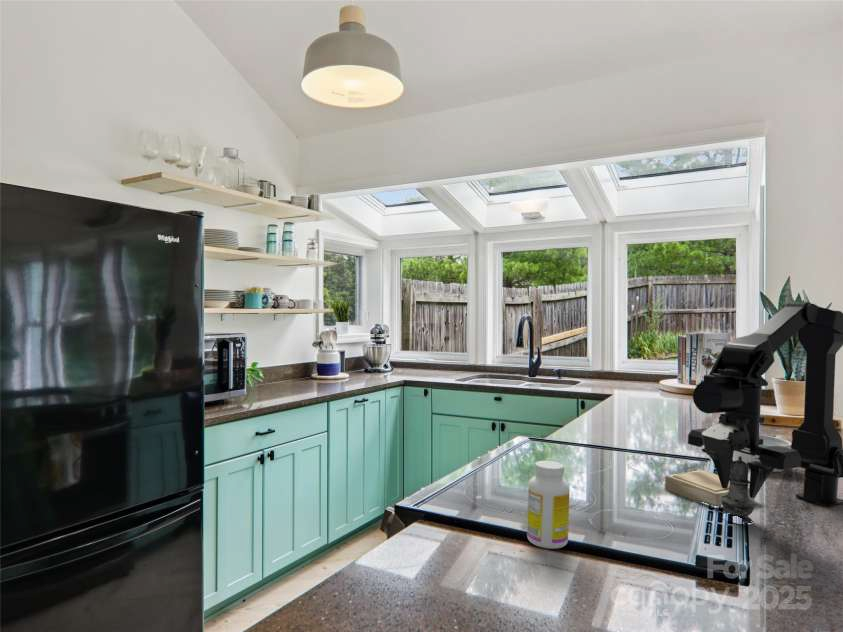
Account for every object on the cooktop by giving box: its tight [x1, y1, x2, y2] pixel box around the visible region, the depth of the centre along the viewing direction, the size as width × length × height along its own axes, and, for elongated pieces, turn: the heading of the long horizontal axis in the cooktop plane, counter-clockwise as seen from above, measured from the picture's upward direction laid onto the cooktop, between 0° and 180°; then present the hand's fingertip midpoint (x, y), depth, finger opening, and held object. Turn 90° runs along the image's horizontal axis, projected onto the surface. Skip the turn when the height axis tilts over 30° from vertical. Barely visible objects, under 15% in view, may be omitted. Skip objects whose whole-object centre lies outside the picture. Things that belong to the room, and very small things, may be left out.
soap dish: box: [664, 469, 756, 506], centre depth 117 cm, size 12×12×3 cm
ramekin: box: [733, 433, 792, 473], centre depth 140 cm, size 13×13×7 cm
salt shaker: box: [720, 456, 757, 523], centre depth 104 cm, size 6×6×12 cm
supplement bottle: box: [526, 460, 570, 550], centre depth 91 cm, size 7×7×13 cm
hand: (738, 492), depth 104 cm, fingers open, 5 cm apart
